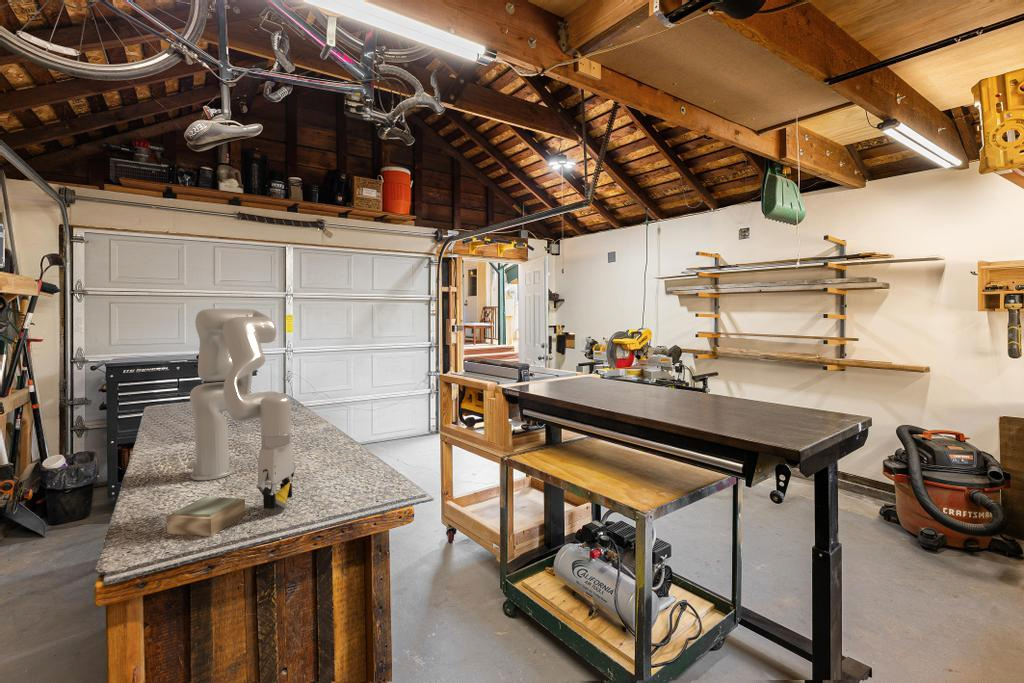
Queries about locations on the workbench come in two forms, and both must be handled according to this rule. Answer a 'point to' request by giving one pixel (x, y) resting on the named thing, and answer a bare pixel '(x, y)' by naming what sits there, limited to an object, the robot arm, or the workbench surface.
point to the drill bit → (280, 500)
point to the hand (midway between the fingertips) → (278, 502)
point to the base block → (206, 516)
